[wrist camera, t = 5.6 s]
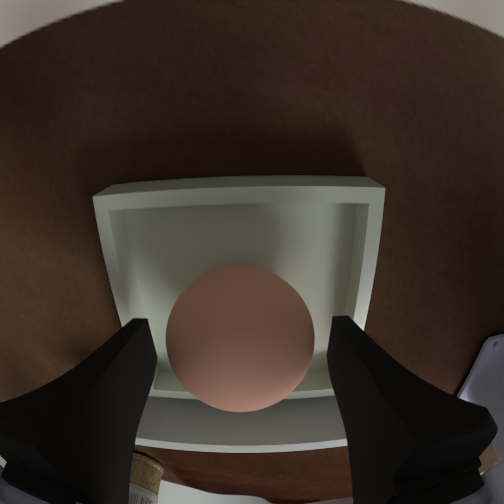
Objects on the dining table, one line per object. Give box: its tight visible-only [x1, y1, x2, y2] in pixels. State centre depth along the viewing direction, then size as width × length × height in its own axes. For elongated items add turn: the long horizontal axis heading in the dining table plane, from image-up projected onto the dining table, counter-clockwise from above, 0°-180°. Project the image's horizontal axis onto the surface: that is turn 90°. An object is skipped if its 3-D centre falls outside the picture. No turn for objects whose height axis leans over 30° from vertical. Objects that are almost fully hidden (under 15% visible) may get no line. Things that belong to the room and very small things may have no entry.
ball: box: [166, 266, 315, 412], centre depth 12 cm, size 6×6×6 cm
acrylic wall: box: [135, 396, 347, 453], centre depth 16 cm, size 18×1×4 cm, turn 91°
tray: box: [93, 175, 385, 399], centre depth 14 cm, size 11×11×2 cm
